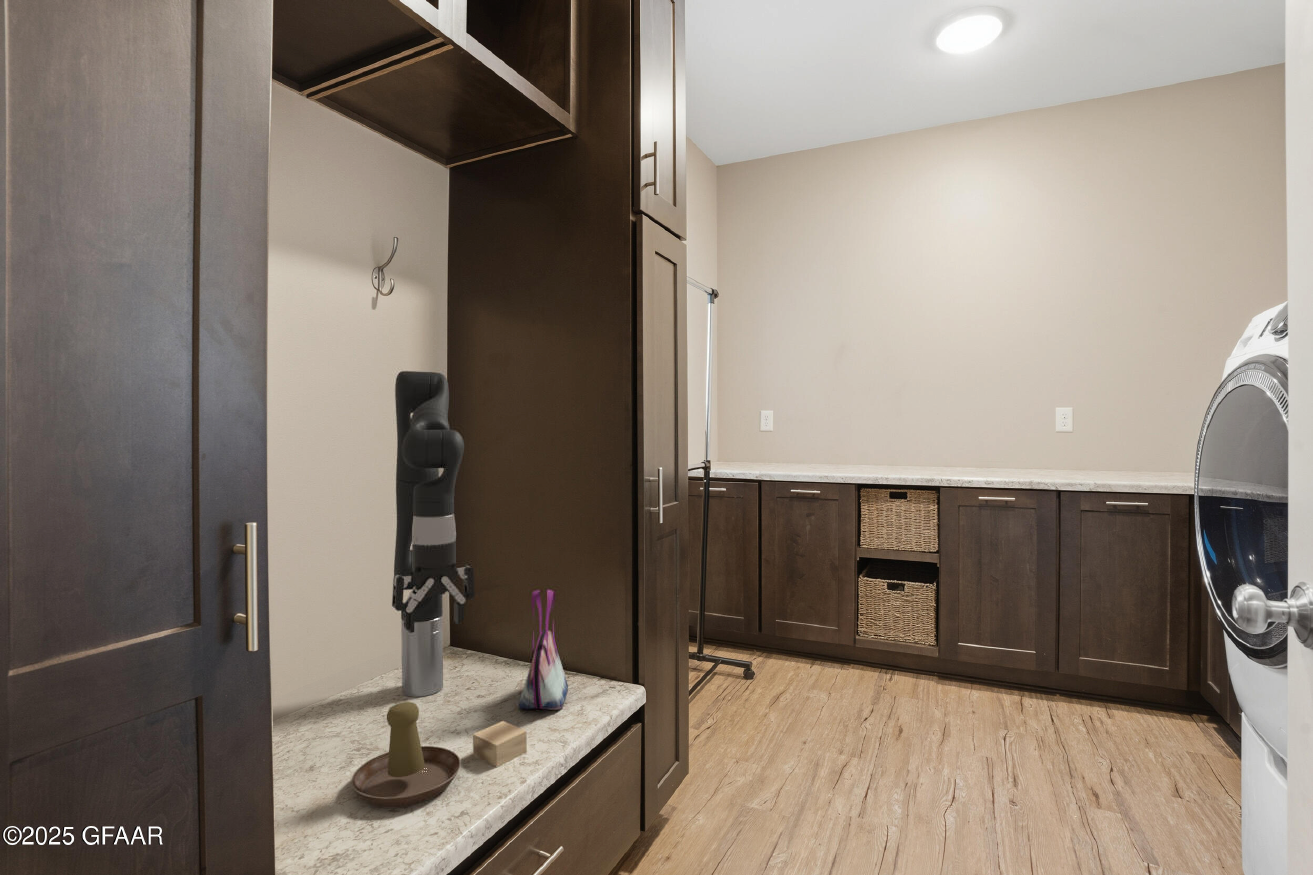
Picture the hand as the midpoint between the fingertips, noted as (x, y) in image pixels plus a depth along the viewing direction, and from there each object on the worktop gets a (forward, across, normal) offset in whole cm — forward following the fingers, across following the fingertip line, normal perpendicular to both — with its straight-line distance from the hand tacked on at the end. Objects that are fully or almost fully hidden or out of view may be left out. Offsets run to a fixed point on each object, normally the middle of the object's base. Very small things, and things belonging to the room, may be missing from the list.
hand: (434, 627), depth 119 cm
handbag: (+26, -28, -13) cm, 41 cm away
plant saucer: (+26, +6, +4) cm, 27 cm away
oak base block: (+25, -11, +4) cm, 28 cm away
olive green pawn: (+23, +6, +4) cm, 24 cm away
